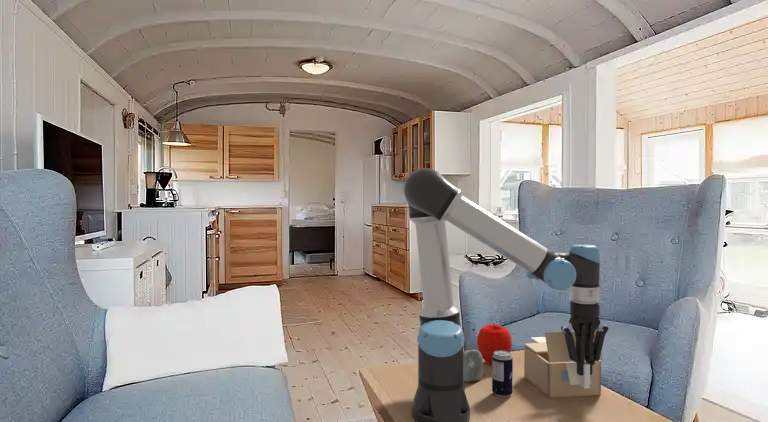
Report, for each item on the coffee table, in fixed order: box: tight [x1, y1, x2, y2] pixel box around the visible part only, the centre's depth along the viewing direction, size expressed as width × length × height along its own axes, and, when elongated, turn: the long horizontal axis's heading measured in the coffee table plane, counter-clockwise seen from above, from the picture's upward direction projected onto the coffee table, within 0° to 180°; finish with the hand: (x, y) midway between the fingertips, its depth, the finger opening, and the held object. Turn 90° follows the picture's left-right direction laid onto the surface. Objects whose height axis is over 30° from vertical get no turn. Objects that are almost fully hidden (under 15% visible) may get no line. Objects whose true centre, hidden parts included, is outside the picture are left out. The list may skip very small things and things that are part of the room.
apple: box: [476, 324, 513, 367], centre depth 165 cm, size 12×12×13 cm
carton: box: [523, 345, 602, 399], centre depth 146 cm, size 16×16×10 cm
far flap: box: [524, 336, 548, 353], centre depth 153 cm, size 16×14×1 cm
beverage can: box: [491, 351, 514, 398], centre depth 139 cm, size 6×6×12 cm
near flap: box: [544, 330, 603, 385], centre depth 138 cm, size 16×14×1 cm
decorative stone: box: [463, 349, 485, 383], centre depth 153 cm, size 13×11×10 cm
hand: (584, 386), depth 133 cm, fingers closed
